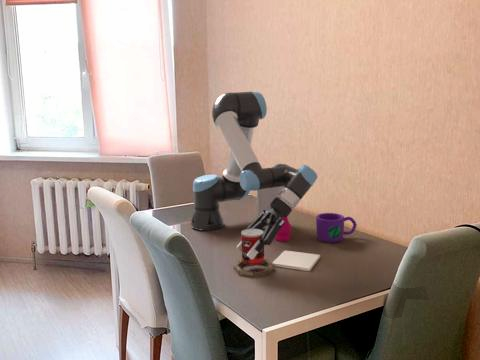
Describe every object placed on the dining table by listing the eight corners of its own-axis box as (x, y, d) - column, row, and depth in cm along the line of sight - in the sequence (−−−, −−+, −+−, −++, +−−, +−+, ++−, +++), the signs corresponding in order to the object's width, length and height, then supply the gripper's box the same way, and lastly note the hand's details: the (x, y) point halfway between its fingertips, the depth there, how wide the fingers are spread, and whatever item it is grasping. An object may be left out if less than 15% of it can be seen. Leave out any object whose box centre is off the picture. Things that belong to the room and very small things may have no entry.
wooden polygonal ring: (228, 273, 164) (228, 269, 163) (244, 260, 175) (244, 256, 175) (264, 278, 158) (264, 274, 158) (277, 264, 170) (277, 260, 170)
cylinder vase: (254, 228, 213) (252, 174, 208) (263, 220, 224) (262, 169, 219) (280, 231, 208) (279, 175, 203) (288, 223, 220) (287, 170, 214)
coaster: (271, 265, 169) (271, 263, 169) (284, 252, 182) (284, 250, 181) (309, 271, 163) (309, 268, 163) (320, 257, 176) (320, 254, 176)
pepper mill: (290, 242, 193) (290, 195, 189) (272, 241, 195) (272, 194, 191) (292, 236, 200) (291, 191, 196) (275, 236, 202) (274, 190, 198)
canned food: (240, 257, 170) (240, 228, 168) (262, 256, 171) (262, 227, 168) (242, 266, 163) (242, 236, 160) (265, 265, 163) (265, 234, 161)
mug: (321, 245, 189) (322, 221, 187) (312, 236, 200) (312, 213, 198) (362, 241, 192) (362, 217, 190) (350, 232, 203) (350, 210, 201)
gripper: (264, 190, 175) (225, 238, 172) (292, 203, 156) (249, 257, 154) (277, 202, 178) (239, 249, 175) (306, 216, 160) (264, 269, 157)
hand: (244, 253), depth 164 cm, fingers closed on canned food, 8 cm apart
